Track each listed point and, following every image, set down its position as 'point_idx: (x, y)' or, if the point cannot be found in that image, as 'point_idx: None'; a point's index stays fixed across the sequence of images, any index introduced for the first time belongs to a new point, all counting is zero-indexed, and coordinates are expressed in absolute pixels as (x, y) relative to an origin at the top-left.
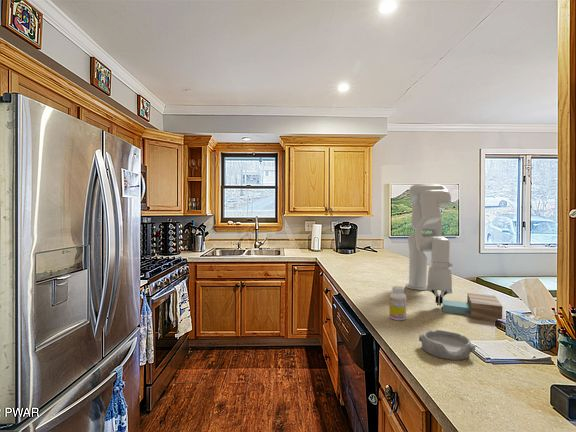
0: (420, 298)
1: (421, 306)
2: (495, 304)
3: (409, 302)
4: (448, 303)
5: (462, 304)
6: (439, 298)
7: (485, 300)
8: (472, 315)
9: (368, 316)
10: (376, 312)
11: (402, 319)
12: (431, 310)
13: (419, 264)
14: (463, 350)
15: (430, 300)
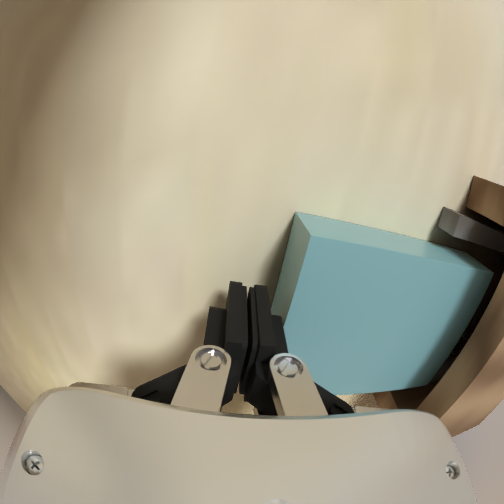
0: (118, 11)
1: (108, 281)
2: (480, 417)
3: (29, 198)
4: (320, 354)
5: (420, 336)
6: (240, 386)
7: (500, 383)
8: (382, 403)
9: (23, 408)
10: (14, 384)
11: None
12: (181, 352)
13: None
14: None
15: (204, 33)
